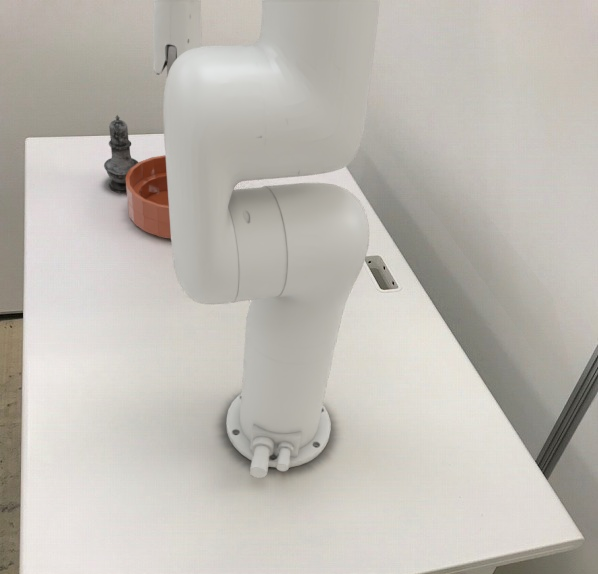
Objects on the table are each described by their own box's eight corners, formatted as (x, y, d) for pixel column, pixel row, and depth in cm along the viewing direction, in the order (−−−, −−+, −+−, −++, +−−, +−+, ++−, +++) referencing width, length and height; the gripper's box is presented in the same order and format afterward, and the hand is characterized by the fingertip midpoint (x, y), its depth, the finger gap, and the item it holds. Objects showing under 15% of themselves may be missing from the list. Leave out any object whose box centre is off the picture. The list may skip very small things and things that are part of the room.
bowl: (218, 249, 100) (219, 215, 96) (116, 233, 100) (112, 198, 96) (236, 196, 111) (237, 163, 107) (144, 181, 111) (141, 148, 107)
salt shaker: (99, 188, 108) (90, 118, 99) (116, 172, 112) (109, 103, 103) (131, 197, 107) (125, 127, 99) (147, 181, 111) (142, 112, 102)
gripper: (164, -43, 89) (170, 93, 102) (132, -11, 78) (143, 137, 91) (218, -35, 89) (216, 100, 102) (193, -1, 78) (195, 145, 91)
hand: (182, 117), depth 97 cm, fingers closed
